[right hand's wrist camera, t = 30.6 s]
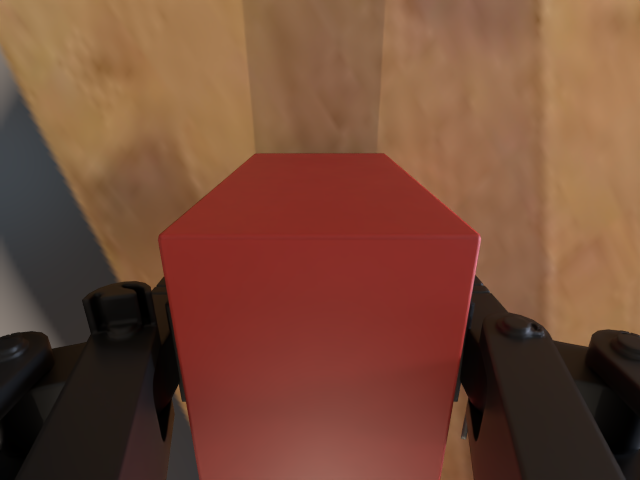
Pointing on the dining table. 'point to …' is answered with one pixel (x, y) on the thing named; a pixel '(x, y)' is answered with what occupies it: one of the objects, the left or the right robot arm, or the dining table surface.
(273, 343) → the block
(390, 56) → the dining table surface
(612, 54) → the dining table surface
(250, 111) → the dining table surface
